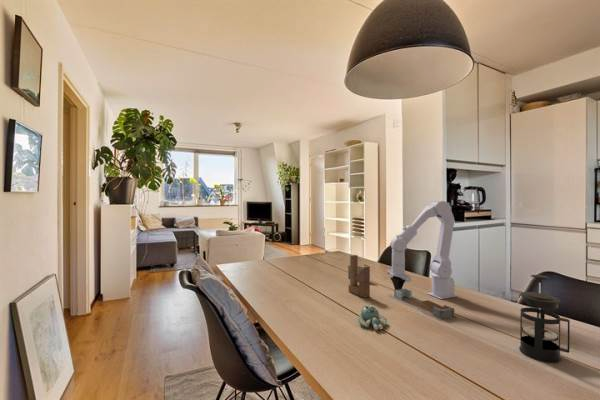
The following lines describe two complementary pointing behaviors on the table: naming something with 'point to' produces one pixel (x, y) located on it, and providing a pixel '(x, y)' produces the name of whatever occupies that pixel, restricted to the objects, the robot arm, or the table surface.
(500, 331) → the table surface
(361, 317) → the stuffed animal
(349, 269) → the architectural model on board
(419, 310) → the track
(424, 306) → the brown bar
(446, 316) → the grey c-shaped bracket
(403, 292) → the cap
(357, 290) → the wooden block
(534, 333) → the french press
